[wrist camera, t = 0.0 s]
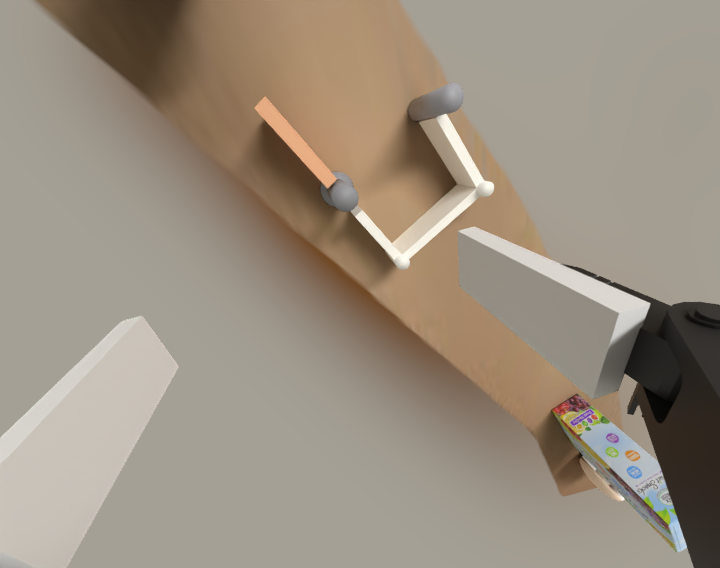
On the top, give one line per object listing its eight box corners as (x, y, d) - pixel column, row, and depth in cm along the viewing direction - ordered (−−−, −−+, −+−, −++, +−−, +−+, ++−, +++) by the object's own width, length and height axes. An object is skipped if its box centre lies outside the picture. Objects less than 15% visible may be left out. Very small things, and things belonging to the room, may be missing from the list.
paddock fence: (313, 188, 36) (317, 199, 28) (414, 86, 33) (450, 65, 25) (383, 262, 43) (402, 288, 35) (471, 183, 40) (514, 191, 32)
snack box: (595, 426, 80) (713, 535, 57) (569, 442, 81) (674, 555, 58) (579, 390, 70) (713, 506, 47) (549, 409, 71) (667, 531, 48)
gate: (352, 191, 36) (363, 199, 30) (337, 205, 36) (345, 217, 30) (273, 99, 30) (267, 86, 24) (256, 118, 30) (246, 110, 24)
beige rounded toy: (569, 456, 85) (607, 500, 74) (592, 441, 84) (634, 483, 73) (580, 468, 90) (617, 510, 80) (602, 454, 89) (643, 495, 78)
